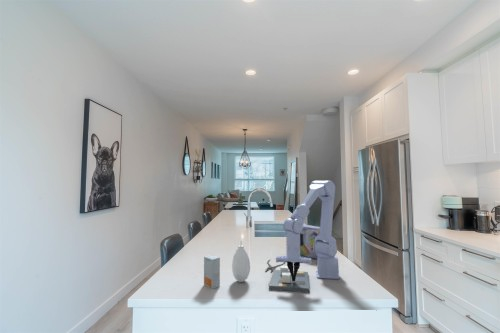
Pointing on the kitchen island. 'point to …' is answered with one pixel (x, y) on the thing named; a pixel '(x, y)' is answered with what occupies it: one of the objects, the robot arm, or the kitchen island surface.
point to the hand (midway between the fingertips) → (293, 280)
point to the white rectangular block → (286, 277)
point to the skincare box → (212, 271)
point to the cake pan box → (308, 240)
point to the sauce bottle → (241, 264)
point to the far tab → (284, 269)
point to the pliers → (272, 267)
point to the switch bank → (298, 285)
